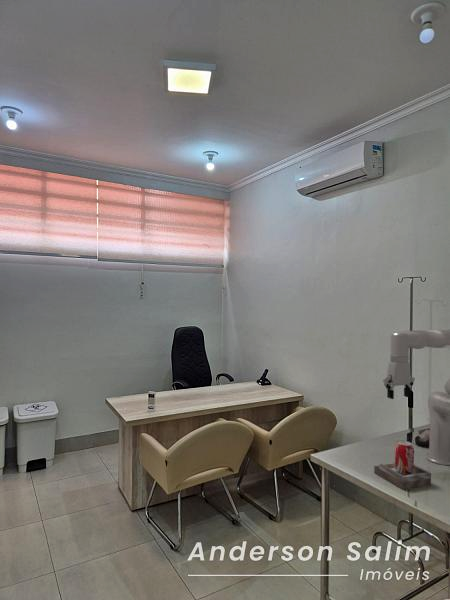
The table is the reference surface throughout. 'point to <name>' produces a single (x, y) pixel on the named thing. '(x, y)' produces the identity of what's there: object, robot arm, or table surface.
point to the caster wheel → (423, 438)
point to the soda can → (404, 457)
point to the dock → (404, 477)
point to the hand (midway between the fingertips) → (398, 397)
